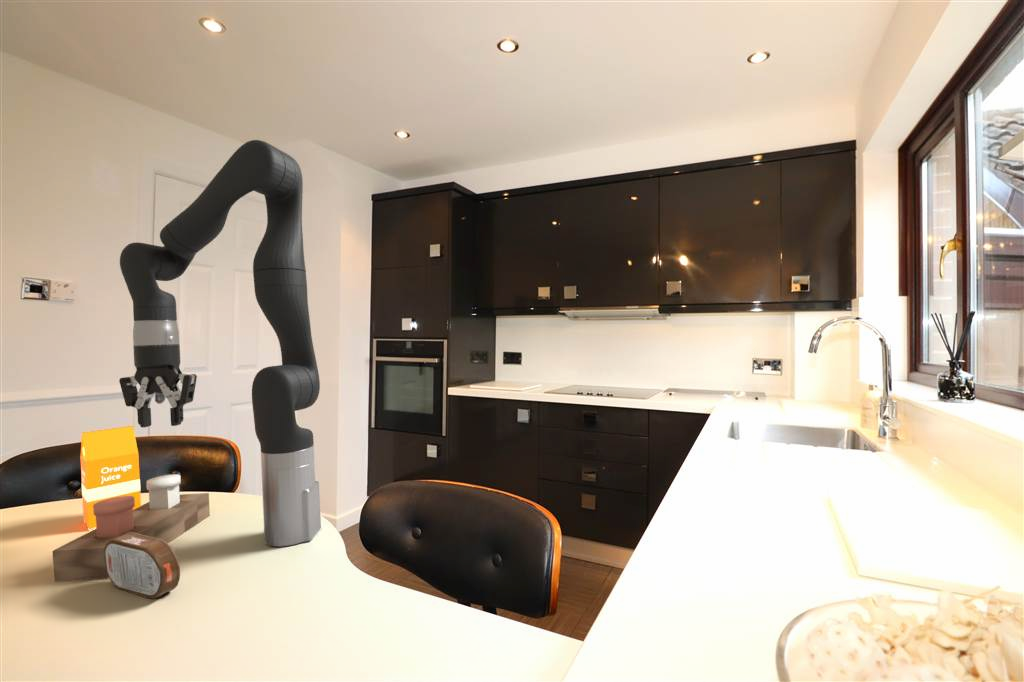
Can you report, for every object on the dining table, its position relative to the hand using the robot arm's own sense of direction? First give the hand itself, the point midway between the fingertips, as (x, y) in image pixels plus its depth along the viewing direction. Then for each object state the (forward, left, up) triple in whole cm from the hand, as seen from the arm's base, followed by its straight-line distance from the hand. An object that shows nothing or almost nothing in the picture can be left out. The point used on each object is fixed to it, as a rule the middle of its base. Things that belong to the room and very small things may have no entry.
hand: (161, 425), depth 96 cm
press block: (0, +6, -21) cm, 22 cm away
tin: (-12, +24, -22) cm, 35 cm away
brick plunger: (0, +13, -17) cm, 22 cm away
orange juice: (+16, -8, -22) cm, 28 cm away
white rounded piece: (0, 0, -17) cm, 17 cm away
